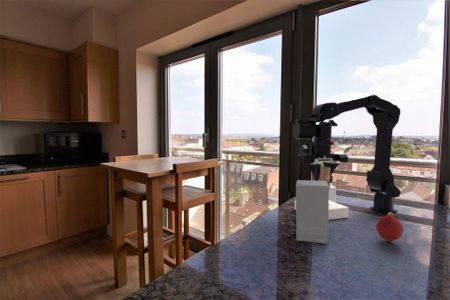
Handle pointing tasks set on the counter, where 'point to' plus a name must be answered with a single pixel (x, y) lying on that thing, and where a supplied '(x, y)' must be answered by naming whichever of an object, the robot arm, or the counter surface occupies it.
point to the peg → (324, 175)
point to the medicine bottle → (332, 191)
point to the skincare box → (312, 211)
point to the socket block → (334, 210)
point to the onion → (389, 228)
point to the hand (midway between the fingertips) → (321, 182)
